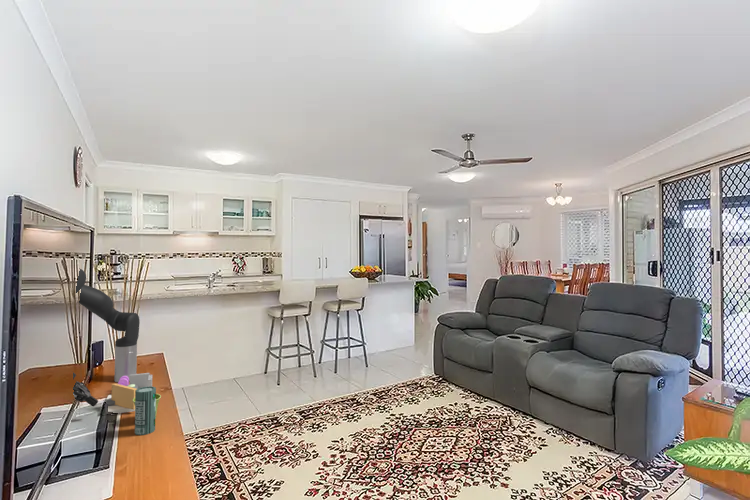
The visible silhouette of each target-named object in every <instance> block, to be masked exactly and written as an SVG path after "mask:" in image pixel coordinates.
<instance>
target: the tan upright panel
mask: <svg viewBox="0 0 750 500" xmlns="http://www.w3.org/2000/svg"><path fill="white" fill-rule="evenodd" d="M135 390H136V388H132V387H128V386H124V385H120V384H118V383H117V382H115V383H111V394H110V395H111V398H109V399H107V398H106V400H105V402H106V403H107V404H108V405H118V406H122V407H125V408H129V409H133V410H134V409H135V405H134V402H133V399H134V398H135Z"/></svg>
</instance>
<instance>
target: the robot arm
mask: <svg viewBox="0 0 750 500" xmlns="http://www.w3.org/2000/svg"><path fill="white" fill-rule="evenodd" d="M79 269H80V271H79V276H78V281H77V286H76V293H77V292H78V291H79V290H80V289H81V293H80V301H79V303H78V304H79V305H82V307H84V308H85V309H86V310H88V311H89V312H91V313H93V314H94V315H96V316H97V317H98V318H100V319H101V320H103V321H104V322H105V323H107V325H109V327H110V328H111V329H113V330H114V331H117V332H124V335H123V337H121V338H117V339H116V340H115V343H114V355H115V356H114V380H113V382H115V383H118V382H119V380H120V378H121V377H122V376H127V377H128V378H129V382H130V375H132V374H137V365H138V364H137V363H138V360H137V359H138V357H137V355H138V339H139V336H140V335H139V333H140V321H141V320H140V317H139V314H138V313H136V312H128V311H127V312H125V311H119V310H117V309H115V307H114V301H113V299H112V298H111V297H110V296H109V295H108V294H107V293H105V292H104V291H102V290H101V289H97V288H95V287H94V286H90V285H87V284H85V283H86V282H87V274H86V271H84V270H83V269H82V268H79ZM76 377H77V374H76V373H75V372H73V380H75V379H76ZM75 381H76V383H75V385H74V387H73V390H74V392H73V395H74V397H75V399H76V400H75V401H77V402H81V403H83V402H86V403H87V404H88V405H89V406H91V407H95V406H96V405H97V404H98V403H99V400H98V399H96V398H95V397H94V396H93V395H92V394H91V390H90V389H89V388H88V387H87V386H86V385H85V383H84V382H83V381H81V382H80V381H77V380H75Z"/></svg>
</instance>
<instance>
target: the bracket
mask: <svg viewBox="0 0 750 500" xmlns="http://www.w3.org/2000/svg"><path fill="white" fill-rule="evenodd" d="M117 384H120V385H124V386H127V385H130V381H129V378H128V377H127V376H122V377H121V378H120V380H119V382H117Z"/></svg>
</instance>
